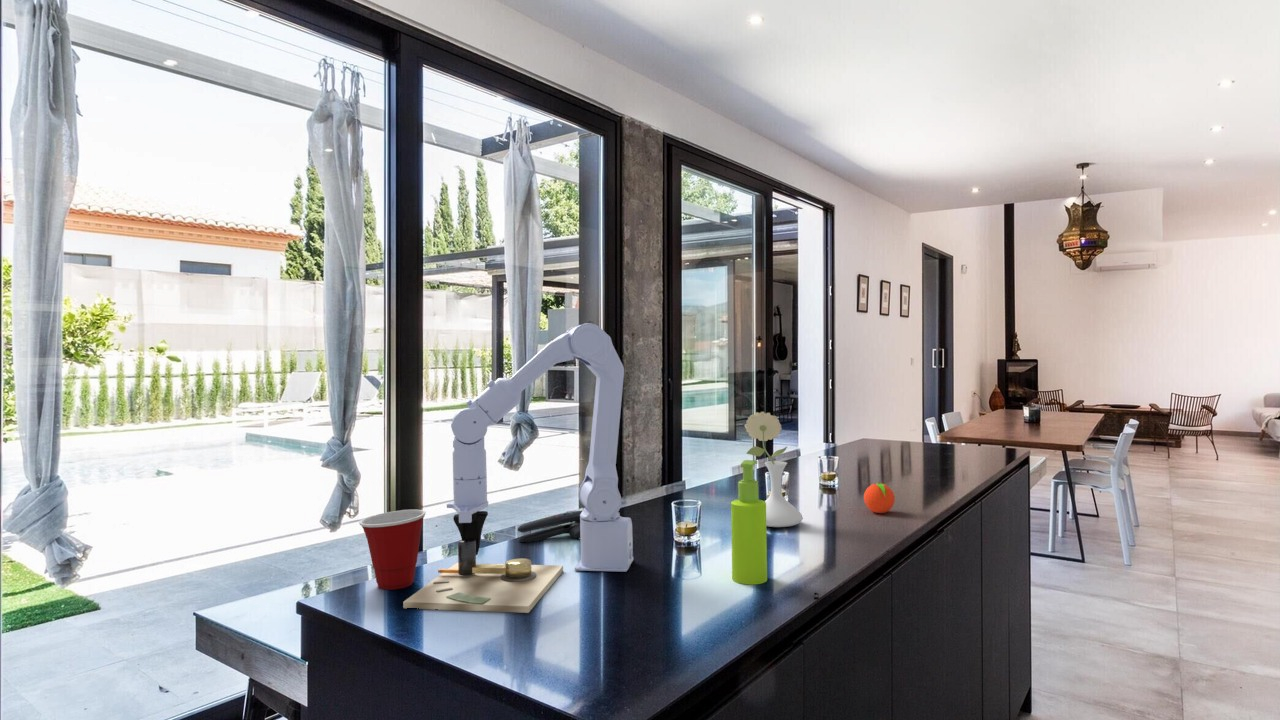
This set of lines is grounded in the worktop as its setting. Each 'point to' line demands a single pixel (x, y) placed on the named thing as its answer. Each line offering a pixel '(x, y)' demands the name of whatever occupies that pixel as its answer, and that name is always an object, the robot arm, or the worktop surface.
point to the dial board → (485, 591)
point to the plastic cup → (394, 546)
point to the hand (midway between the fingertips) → (471, 554)
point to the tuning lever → (469, 566)
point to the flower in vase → (772, 471)
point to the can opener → (553, 521)
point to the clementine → (879, 498)
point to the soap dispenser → (749, 531)
